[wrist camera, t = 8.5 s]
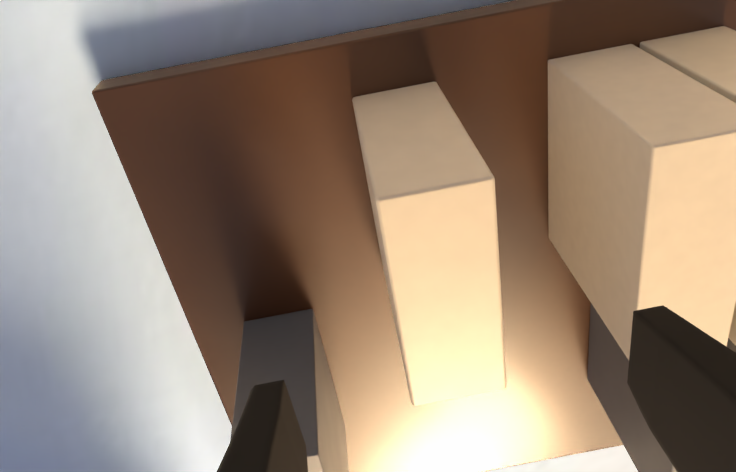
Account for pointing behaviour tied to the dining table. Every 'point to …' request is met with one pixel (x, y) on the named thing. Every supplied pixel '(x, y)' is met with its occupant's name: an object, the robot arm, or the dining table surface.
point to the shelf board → (356, 221)
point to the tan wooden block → (435, 241)
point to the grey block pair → (322, 411)
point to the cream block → (648, 178)
